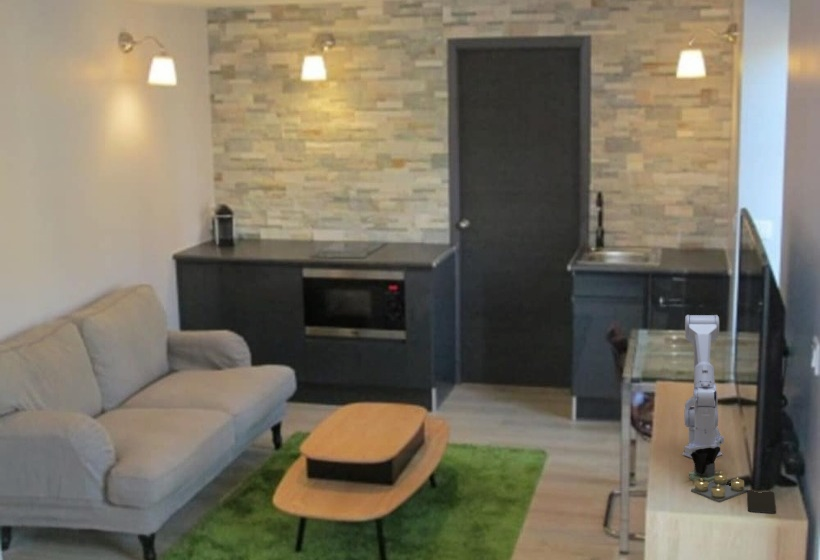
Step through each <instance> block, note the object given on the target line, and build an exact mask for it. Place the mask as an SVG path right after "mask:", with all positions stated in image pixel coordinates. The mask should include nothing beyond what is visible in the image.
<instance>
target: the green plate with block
mask: <svg viewBox="0 0 820 560" xmlns="http://www.w3.org/2000/svg"><path fill="white" fill-rule="evenodd" d="M693 464H694V463H693ZM715 466H716V462H715V461H714V462H712V461H709V460H705V467H704V473H703V474H700V473H697V472H696V468H695V464H694V470H693V471H691V472H689V473H688V476H689V480H691V481H692V482H693V481H694V482H695V481H696V480H698V479H700V478H703V480H707V481H708V483H710V482H713V481H714V474H715V473H719V471H717V470H716V467H715Z"/></svg>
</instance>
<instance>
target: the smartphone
mask: <svg viewBox="0 0 820 560" xmlns="http://www.w3.org/2000/svg"><path fill="white" fill-rule="evenodd" d="M752 490H753V489H748V491H747V492H746V496H747V497H746V498H747V499H746V500H747V502H746V503H747V505H746V506H747V512H749V513H756V514H765V515H767V514H769V515H775V514H777V506H776V494H775V492H774V491H771V490H769V492H762V493H758V492H754V491H752Z"/></svg>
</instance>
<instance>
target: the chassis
mask: <svg viewBox="0 0 820 560" xmlns="http://www.w3.org/2000/svg"><path fill="white" fill-rule="evenodd" d="M718 472H719V473H715V474H714V481H711V482H708V481H707V480H703V478H700V479H698V480H696V481H694V488H691V489H690V491H691V492H692V493H695V494H697V495H699V496H701V497H702V496H703V497H705V498H707V499H709V500H711V501H715V502H717V503H721V502H724V501H727V500H728V499H729V500H730V499H731V498H735V497H737V496H740V495H741V494H744V493H747V491H748V490H749V489H748V488H746V487H745V480H744V479H741V478H740V477H738V476H736V477H735V478H732V479H731V480H730V483H731V486H729V485H726V484H727V482H728V474H727V473H725V472H723V471H721V470H720V471H718Z"/></svg>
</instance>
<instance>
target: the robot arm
mask: <svg viewBox="0 0 820 560" xmlns="http://www.w3.org/2000/svg"><path fill="white" fill-rule="evenodd" d="M684 332H685V333H684V334H685V335H684V337H685V340H686V341H687V342H690V343H691V345H692V347H693V392H692V393H693V394H692V396H691V397H690V398H689V399H687V400H686V401H685V403H684V409H683V410H684V418H683V419H684V426H685V427H686V428H688V445H685V446H684V452H682V456H685V457H686V458H687V457H688V458H690V459H692V461H693V464H695V468H696V472H697V473H700V474H703V473H704V467H705V460H709V461H712V462H714V463H715V461H716V458H717V457H720V456H723V452H721V445H722V444H724V443H725V437H724V436H722V435H721V432H720V429H719V428H718V427H719V410H718V409H719V408H718V407H719V406H718V390H717V385H716V379H715V378H716V377H715V366H713V364H711V348H712V346H711V345H712V344H711V343H714V342H716V341H717V339H718V337H719V334H720V317H719V316H718V314H714V315H713V314H711V315H710V314H709V315H705V314H703V315H702V314H700V315H699V314H698V315H697V314H695V315H694V314H693V315H692V314H691V315H690V314H686V315H685V318H684Z"/></svg>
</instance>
